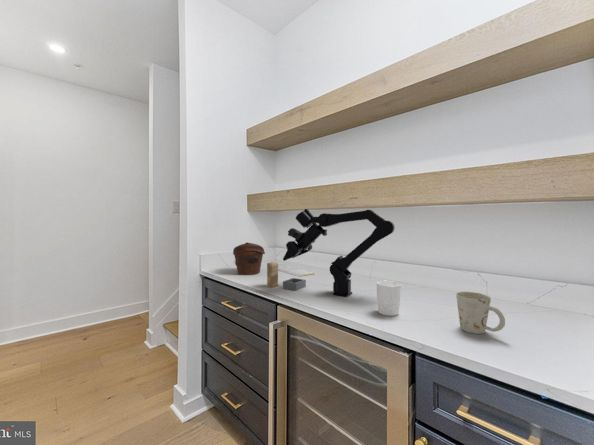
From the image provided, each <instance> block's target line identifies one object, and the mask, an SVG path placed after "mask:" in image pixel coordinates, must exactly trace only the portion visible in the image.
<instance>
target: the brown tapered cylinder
mask: <svg viewBox="0 0 594 445" xmlns="http://www.w3.org/2000/svg"><path fill="white" fill-rule="evenodd" d="M232 253H233V255H234V261H233V264H235V266H236V271H237V273H238V274H239V275H241V276H251V275H258V274H259V273H260V272H261V267H262V261H263V257H264V256H263V255H265V249H264V247H263V246H261V245H259V244H257V243H251V242H245V243H243V244H239V245H236V247H235V246H234V248H233V252H232Z"/></svg>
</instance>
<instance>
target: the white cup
mask: <svg viewBox="0 0 594 445" xmlns="http://www.w3.org/2000/svg"><path fill="white" fill-rule="evenodd" d="M401 290H402V283H400V282H399V281H398V282H397V281H392V280H379V281H377V282H376V299H377V300H376V302H377V313H379V314H380V315H383V316H387V317H388V316H392V317H395V316H399V315H400V314H399V313H400V305H401Z"/></svg>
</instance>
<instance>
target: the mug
mask: <svg viewBox="0 0 594 445" xmlns="http://www.w3.org/2000/svg"><path fill="white" fill-rule="evenodd" d="M455 295H456V304H457V311H458V318H459V320H458V321H459V327H460V329H461V330H462V331H464V332H467V333H469V334H475V335H476V334H477V335H483V334H485V332H486V331H491V332H499V331H501V330H503V329H504V327H505V326H506V318H505V316H504V314H503V312H502V311H501V309H499V308H498V307H495V306H492V305H491V301H492V300H491V296H490V295H487V294H485V293H480V292H475V291H458V292H456V294H455ZM490 311H492V312H494V313H495V314H496V315H497V316H498V318H499V322H498V324H497V326H495V327H490V326H487V323H488V317H489V312H490Z"/></svg>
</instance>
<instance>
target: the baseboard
mask: <svg viewBox="0 0 594 445" xmlns="http://www.w3.org/2000/svg"><path fill="white" fill-rule="evenodd" d="M278 272H281V273H286V274H289V275H293V276H296V277H299V278H300V277H308V276H314V275H315V272H310V271H309V270H303V269H300V268H295V267H292V266H288V265H284V263H283V264H281V265H280V264H279V263H278Z"/></svg>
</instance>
